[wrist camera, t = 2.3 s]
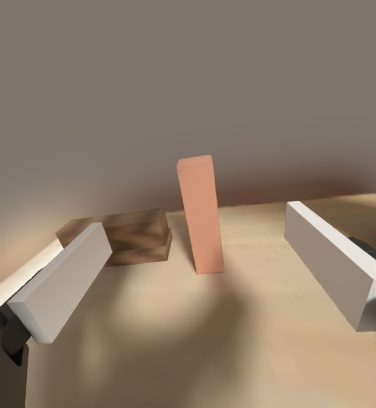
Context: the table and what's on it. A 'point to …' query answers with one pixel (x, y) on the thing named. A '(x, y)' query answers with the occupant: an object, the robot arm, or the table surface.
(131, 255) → the brown wooden block
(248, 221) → the table surface
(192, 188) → the rod
